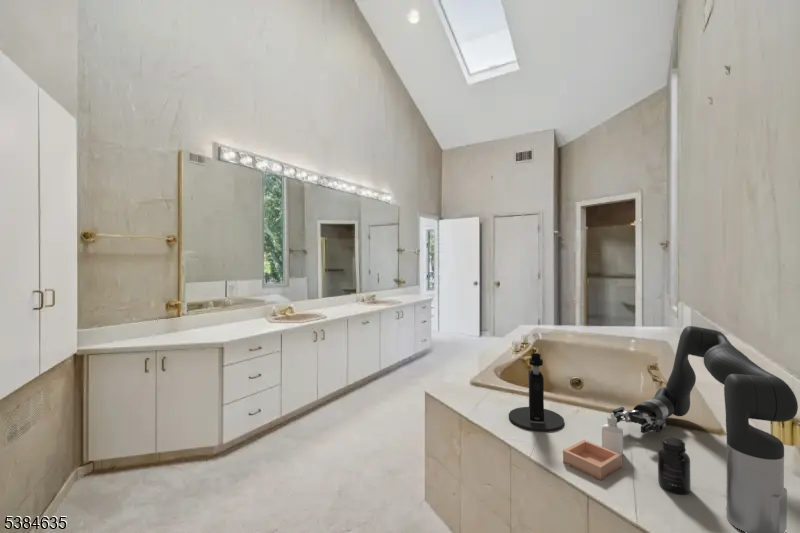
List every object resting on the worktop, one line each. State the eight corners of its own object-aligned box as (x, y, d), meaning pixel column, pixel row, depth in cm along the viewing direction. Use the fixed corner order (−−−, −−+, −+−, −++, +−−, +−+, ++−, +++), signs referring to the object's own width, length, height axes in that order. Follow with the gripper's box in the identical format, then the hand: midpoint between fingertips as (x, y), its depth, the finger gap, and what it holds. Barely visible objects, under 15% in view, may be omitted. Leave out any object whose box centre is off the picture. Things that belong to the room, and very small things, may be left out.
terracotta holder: (621, 466, 108) (621, 454, 108) (600, 480, 102) (600, 467, 102) (584, 450, 117) (584, 439, 117) (563, 462, 111) (562, 450, 111)
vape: (509, 429, 133) (508, 358, 132) (507, 407, 151) (506, 345, 151) (568, 434, 128) (568, 360, 127) (559, 411, 147) (558, 346, 146)
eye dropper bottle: (618, 458, 112) (618, 418, 112) (599, 450, 117) (599, 412, 117) (625, 453, 115) (625, 414, 115) (606, 446, 120) (606, 408, 119)
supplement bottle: (659, 476, 103) (659, 432, 103) (691, 485, 99) (691, 439, 98) (656, 488, 98) (656, 442, 97) (689, 499, 93) (689, 450, 93)
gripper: (628, 395, 136) (604, 406, 127) (675, 408, 124) (652, 421, 115) (628, 416, 136) (604, 428, 127) (675, 431, 124) (652, 445, 115)
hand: (627, 425), depth 121 cm, fingers open, 8 cm apart
